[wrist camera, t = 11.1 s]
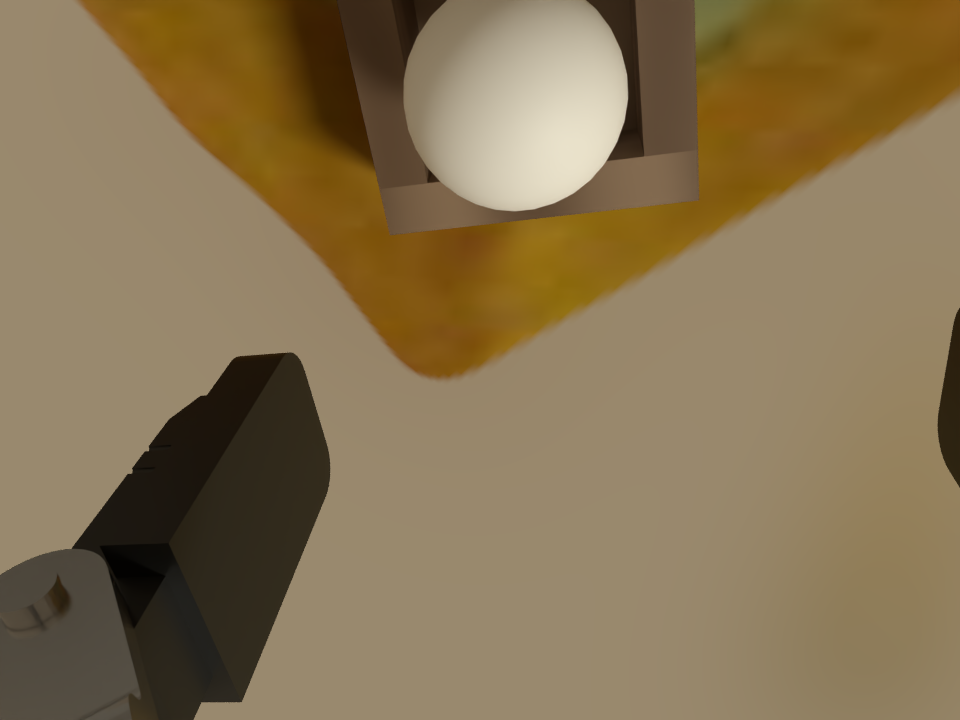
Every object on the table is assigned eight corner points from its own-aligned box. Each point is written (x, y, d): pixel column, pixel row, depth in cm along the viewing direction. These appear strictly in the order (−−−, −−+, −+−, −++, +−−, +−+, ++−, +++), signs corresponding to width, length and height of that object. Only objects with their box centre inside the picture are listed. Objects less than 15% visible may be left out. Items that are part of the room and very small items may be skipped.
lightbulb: (646, 38, 28) (691, 127, 19) (525, 160, 31) (512, 289, 22) (522, -97, 26) (505, -72, 17) (405, 45, 29) (334, 133, 20)
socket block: (672, -172, 26) (690, -181, 22) (682, 157, 32) (698, 200, 28) (352, -111, 28) (312, -109, 24) (413, 190, 34) (390, 235, 29)
